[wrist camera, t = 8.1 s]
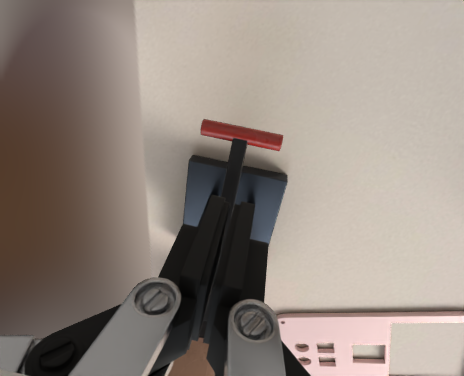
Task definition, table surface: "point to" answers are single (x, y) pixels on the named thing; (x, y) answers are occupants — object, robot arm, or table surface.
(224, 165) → the bracket
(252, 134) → the lever
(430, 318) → the panel
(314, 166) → the table surface
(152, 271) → the table surface
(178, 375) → the travel mug
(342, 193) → the table surface
